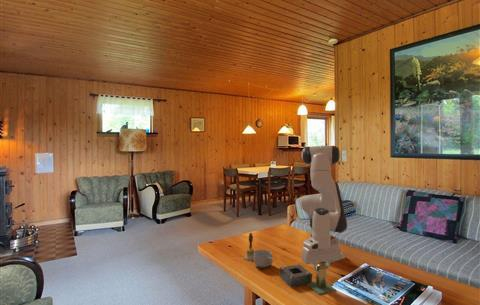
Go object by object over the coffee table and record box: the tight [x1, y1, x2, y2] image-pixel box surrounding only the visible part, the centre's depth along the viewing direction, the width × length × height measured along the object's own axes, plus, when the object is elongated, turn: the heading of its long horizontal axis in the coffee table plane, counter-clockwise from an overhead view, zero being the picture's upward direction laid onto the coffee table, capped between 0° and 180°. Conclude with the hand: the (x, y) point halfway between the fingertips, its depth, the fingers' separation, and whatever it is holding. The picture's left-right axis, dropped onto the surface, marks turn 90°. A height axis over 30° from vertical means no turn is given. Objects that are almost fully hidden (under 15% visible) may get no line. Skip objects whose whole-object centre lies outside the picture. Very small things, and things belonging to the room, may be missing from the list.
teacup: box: [253, 249, 274, 269], centre depth 159 cm, size 14×11×8 cm
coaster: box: [306, 281, 337, 295], centre depth 135 cm, size 10×10×1 cm
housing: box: [279, 263, 313, 289], centre depth 143 cm, size 12×12×6 cm
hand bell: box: [243, 232, 255, 262], centre depth 171 cm, size 8×8×16 cm
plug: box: [315, 262, 327, 287], centre depth 135 cm, size 5×5×10 cm
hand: (321, 269), depth 135 cm, fingers closed on plug, 5 cm apart
